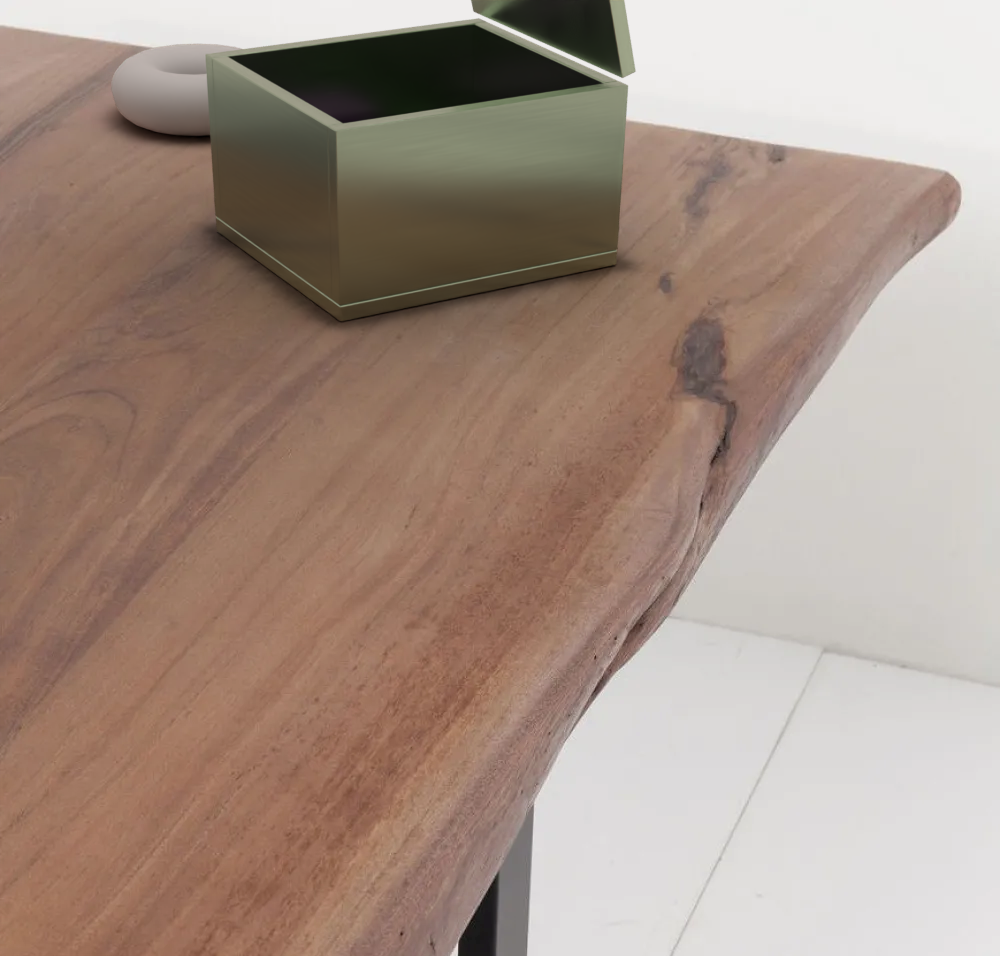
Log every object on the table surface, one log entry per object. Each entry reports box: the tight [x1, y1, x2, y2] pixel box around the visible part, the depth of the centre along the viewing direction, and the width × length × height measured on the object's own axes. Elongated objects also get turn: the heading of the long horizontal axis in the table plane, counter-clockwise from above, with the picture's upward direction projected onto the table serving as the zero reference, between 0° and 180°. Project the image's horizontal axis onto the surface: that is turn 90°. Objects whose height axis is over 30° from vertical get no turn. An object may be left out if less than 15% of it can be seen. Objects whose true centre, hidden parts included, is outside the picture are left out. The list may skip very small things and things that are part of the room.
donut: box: [110, 43, 242, 137], centre depth 111 cm, size 10×3×10 cm
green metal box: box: [205, 17, 629, 322], centre depth 93 cm, size 16×14×9 cm
